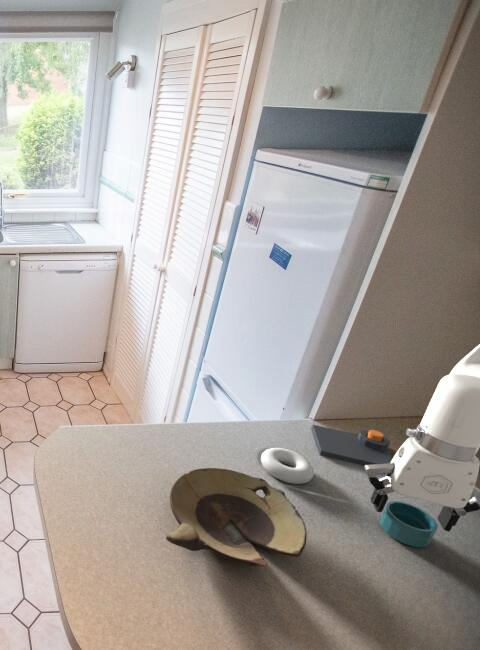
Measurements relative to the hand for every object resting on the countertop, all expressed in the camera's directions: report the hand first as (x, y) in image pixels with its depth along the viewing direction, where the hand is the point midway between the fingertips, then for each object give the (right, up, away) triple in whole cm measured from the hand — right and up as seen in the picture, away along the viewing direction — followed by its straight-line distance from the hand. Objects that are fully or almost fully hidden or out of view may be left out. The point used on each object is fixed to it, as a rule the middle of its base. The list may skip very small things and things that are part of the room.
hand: (408, 515), depth 85 cm
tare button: (+14, +8, +23) cm, 28 cm away
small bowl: (0, -4, +2) cm, 4 cm away
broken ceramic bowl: (-34, -4, +4) cm, 35 cm away
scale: (+9, +5, +24) cm, 26 cm away
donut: (-11, +2, +18) cm, 21 cm away
